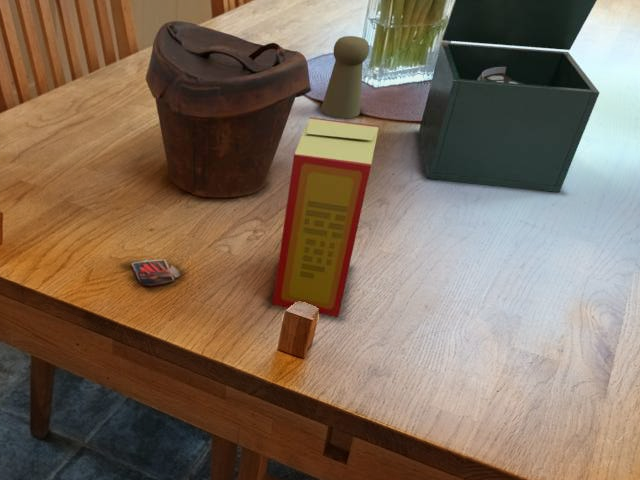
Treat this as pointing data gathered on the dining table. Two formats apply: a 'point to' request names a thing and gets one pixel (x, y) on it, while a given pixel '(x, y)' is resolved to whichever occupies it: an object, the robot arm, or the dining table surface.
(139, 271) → the matchbox
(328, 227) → the baking soda box
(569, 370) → the dining table surface
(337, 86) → the olive pawn figure
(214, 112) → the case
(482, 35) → the bin lid
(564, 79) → the waste bin
